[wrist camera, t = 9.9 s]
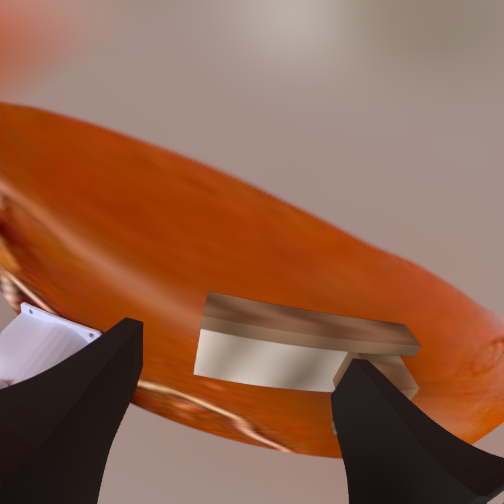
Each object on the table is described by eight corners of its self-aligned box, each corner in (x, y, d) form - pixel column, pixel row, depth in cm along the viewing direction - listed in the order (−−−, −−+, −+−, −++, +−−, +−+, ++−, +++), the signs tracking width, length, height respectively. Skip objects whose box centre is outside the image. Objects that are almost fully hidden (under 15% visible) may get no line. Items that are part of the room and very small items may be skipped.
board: (195, 363, 21) (190, 390, 19) (208, 291, 19) (202, 315, 16) (370, 384, 23) (379, 406, 20) (405, 324, 20) (421, 346, 18)
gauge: (313, 410, 22) (322, 455, 17) (352, 342, 19) (374, 390, 15) (351, 411, 22) (364, 452, 18) (393, 346, 20) (419, 389, 15)
